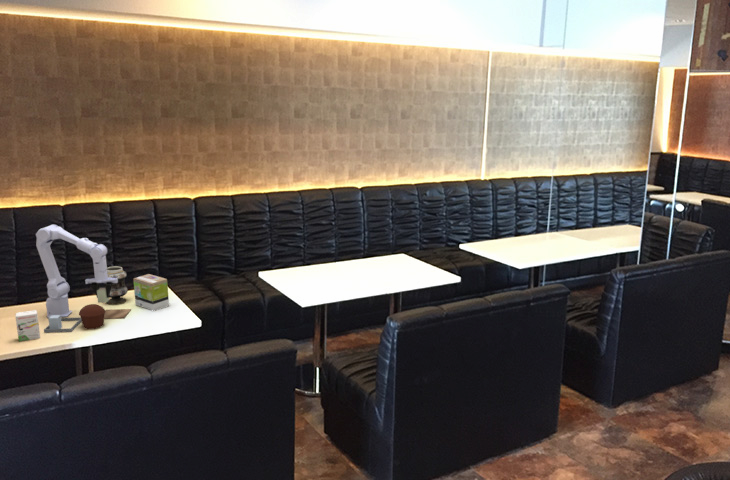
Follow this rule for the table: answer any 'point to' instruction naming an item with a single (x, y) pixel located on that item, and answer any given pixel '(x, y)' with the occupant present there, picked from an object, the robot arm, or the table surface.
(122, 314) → the walnut board
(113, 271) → the apothecary jar
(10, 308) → the table surface
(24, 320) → the ink box
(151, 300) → the tea box
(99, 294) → the sage block
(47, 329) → the parts tray
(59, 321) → the blue block
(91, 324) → the muffin
